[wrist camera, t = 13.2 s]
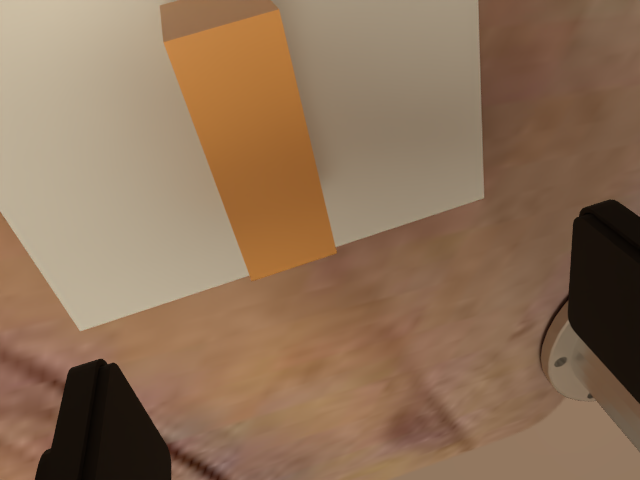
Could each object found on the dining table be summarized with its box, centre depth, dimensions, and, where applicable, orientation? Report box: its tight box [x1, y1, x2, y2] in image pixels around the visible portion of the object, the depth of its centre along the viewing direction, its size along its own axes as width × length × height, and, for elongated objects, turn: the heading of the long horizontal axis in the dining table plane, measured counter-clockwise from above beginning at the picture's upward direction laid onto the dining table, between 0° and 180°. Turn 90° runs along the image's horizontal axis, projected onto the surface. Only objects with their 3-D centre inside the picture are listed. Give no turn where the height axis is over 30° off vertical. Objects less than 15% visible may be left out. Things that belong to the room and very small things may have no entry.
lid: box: [0, 0, 484, 331], centre depth 19 cm, size 18×14×6 cm
